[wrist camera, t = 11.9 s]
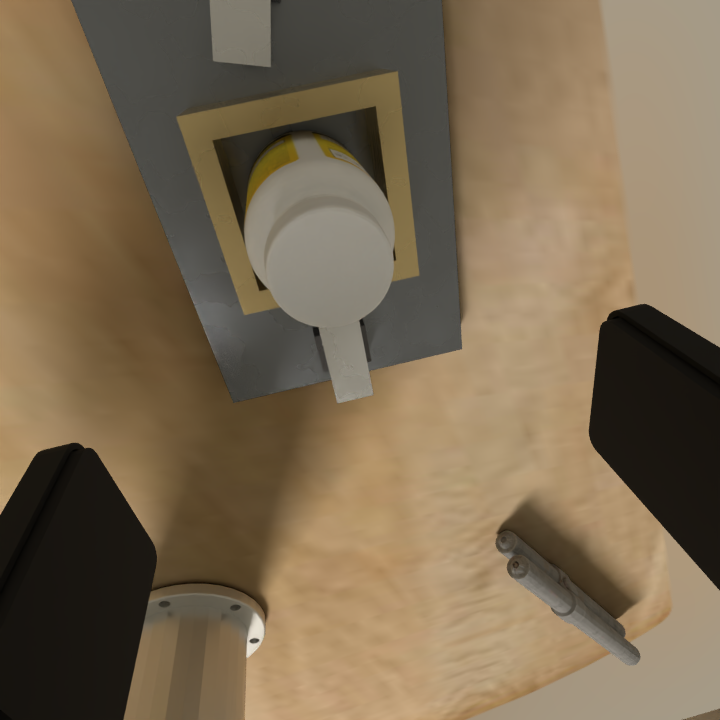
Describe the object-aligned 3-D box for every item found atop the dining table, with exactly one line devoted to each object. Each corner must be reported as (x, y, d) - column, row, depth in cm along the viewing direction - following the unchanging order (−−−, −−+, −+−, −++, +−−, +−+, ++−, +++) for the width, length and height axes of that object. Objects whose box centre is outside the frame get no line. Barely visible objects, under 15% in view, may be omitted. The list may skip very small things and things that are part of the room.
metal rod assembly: (619, 614, 55) (649, 661, 51) (598, 626, 55) (625, 673, 51) (510, 518, 42) (537, 570, 38) (484, 535, 43) (508, 587, 38)
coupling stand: (453, 336, 30) (480, 376, 27) (234, 388, 30) (230, 436, 26) (420, -155, 18) (460, -208, 15) (48, -86, 18) (-10, -123, 14)
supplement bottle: (254, 250, 24) (249, 353, 16) (240, 130, 21) (225, 180, 13) (362, 244, 25) (411, 340, 17) (363, 127, 22) (422, 174, 14)
